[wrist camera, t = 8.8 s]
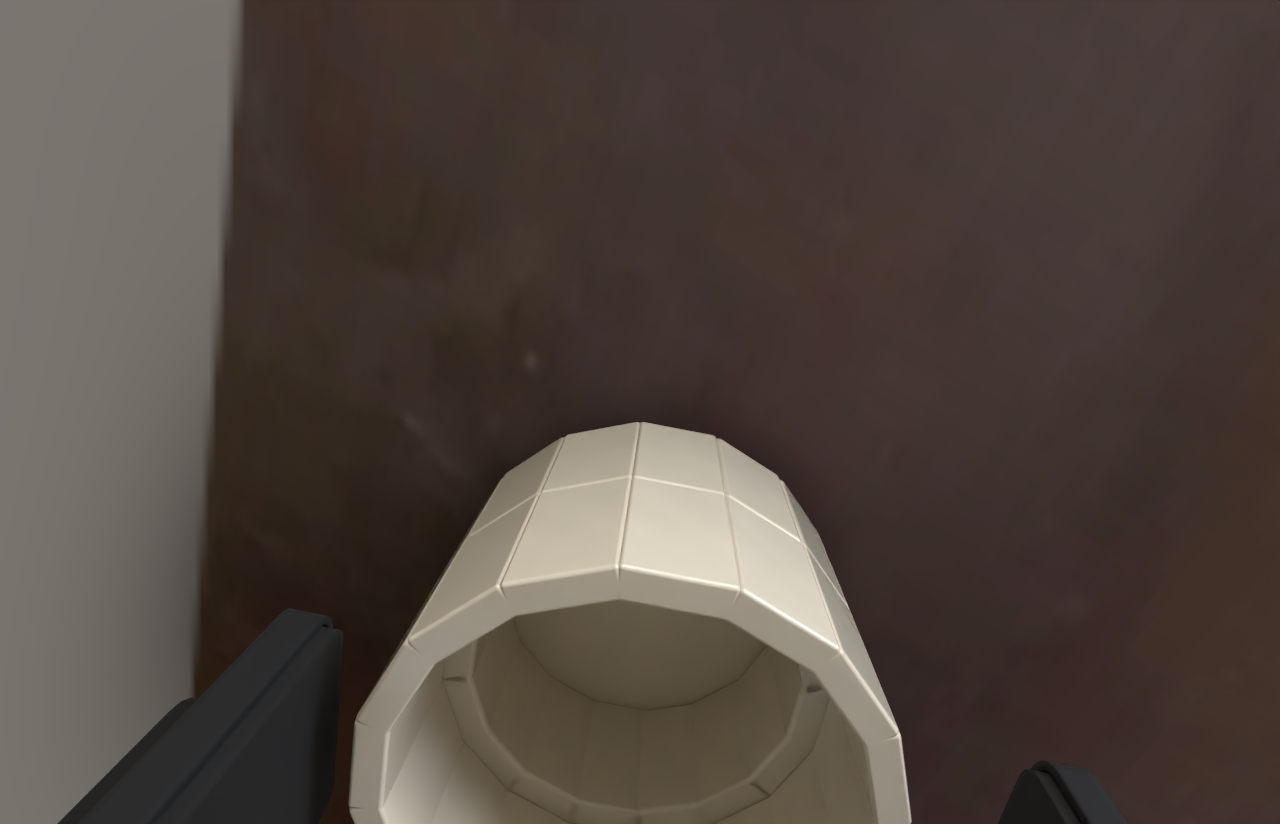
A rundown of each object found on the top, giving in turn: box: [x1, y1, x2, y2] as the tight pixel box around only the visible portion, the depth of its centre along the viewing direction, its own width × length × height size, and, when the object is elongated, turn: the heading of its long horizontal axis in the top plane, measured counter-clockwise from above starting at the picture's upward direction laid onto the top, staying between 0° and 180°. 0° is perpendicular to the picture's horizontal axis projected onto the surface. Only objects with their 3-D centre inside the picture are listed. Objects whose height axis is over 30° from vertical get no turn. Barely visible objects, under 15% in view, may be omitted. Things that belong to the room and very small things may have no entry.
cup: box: [348, 422, 911, 824], centre depth 11 cm, size 7×7×6 cm
